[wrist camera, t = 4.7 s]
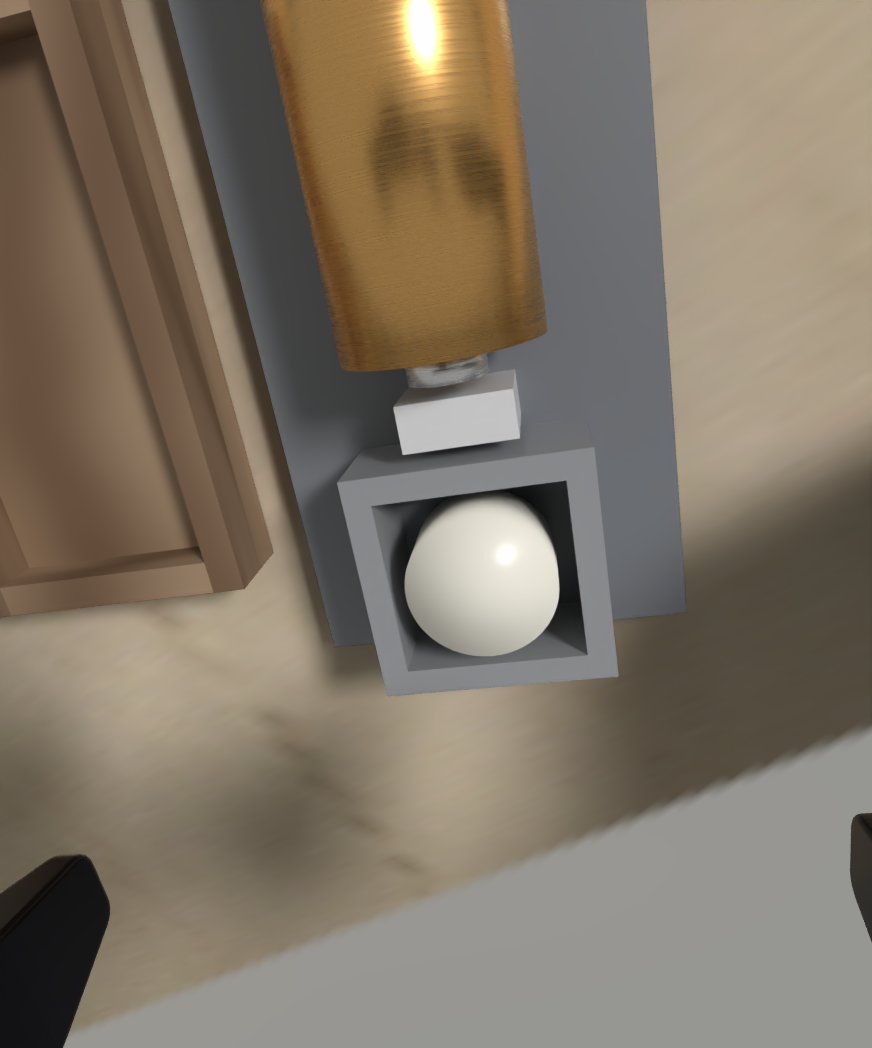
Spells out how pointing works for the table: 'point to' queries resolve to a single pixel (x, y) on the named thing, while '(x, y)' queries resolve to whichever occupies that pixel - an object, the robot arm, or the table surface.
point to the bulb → (483, 574)
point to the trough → (104, 340)
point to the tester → (514, 373)
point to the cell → (412, 179)
